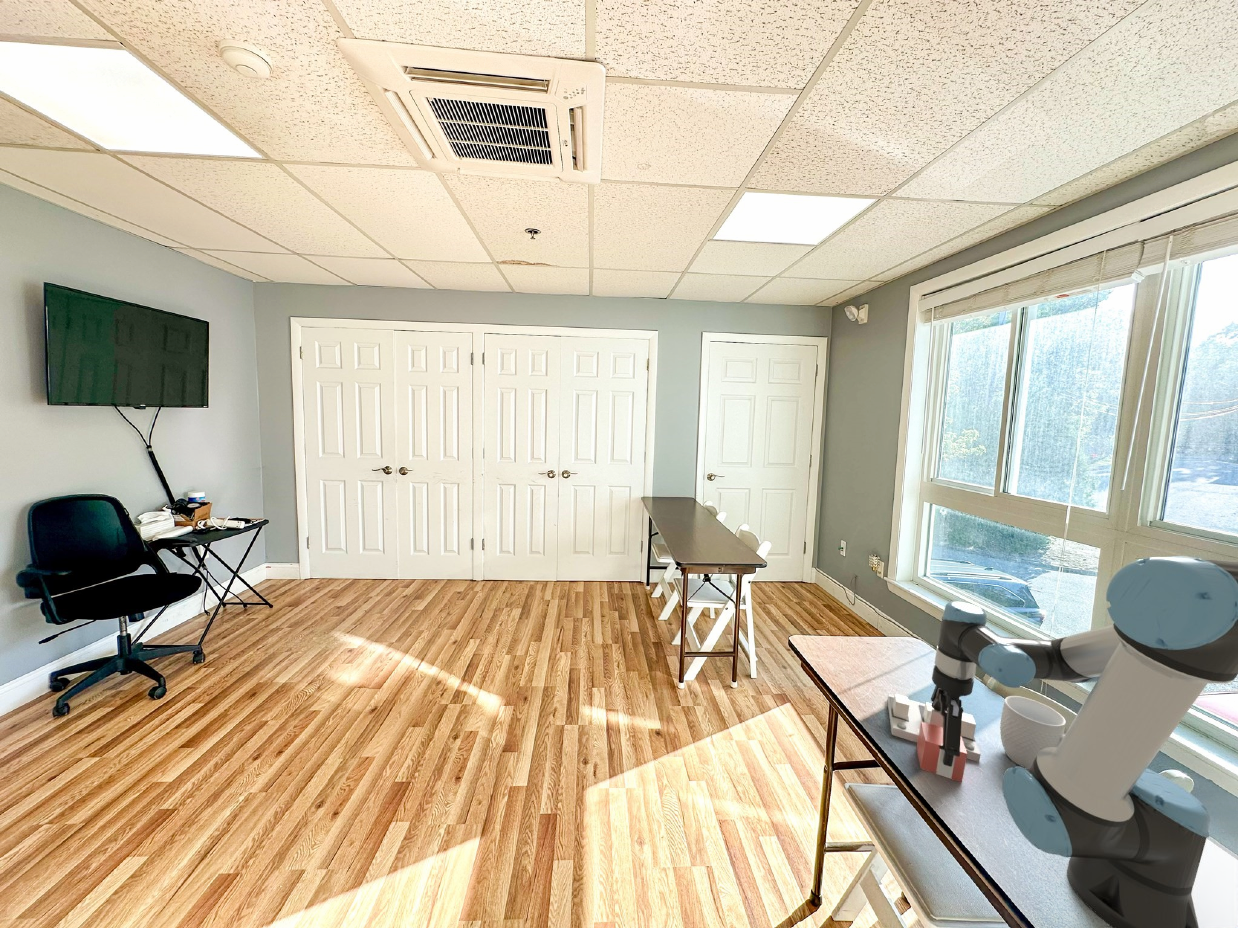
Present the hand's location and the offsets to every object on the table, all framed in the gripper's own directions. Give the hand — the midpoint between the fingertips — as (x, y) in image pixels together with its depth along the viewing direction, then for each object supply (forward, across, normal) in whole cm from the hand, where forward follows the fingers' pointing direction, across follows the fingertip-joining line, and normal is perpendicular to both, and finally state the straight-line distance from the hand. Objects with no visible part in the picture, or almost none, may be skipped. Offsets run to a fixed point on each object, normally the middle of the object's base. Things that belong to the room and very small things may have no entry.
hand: (938, 754), depth 111 cm
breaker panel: (+2, +14, 0) cm, 14 cm away
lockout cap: (+2, 0, 0) cm, 2 cm away
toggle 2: (0, +13, 0) cm, 13 cm away
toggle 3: (0, +13, -7) cm, 14 cm away
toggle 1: (0, +13, +7) cm, 14 cm away
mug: (+3, +12, -20) cm, 23 cm away
